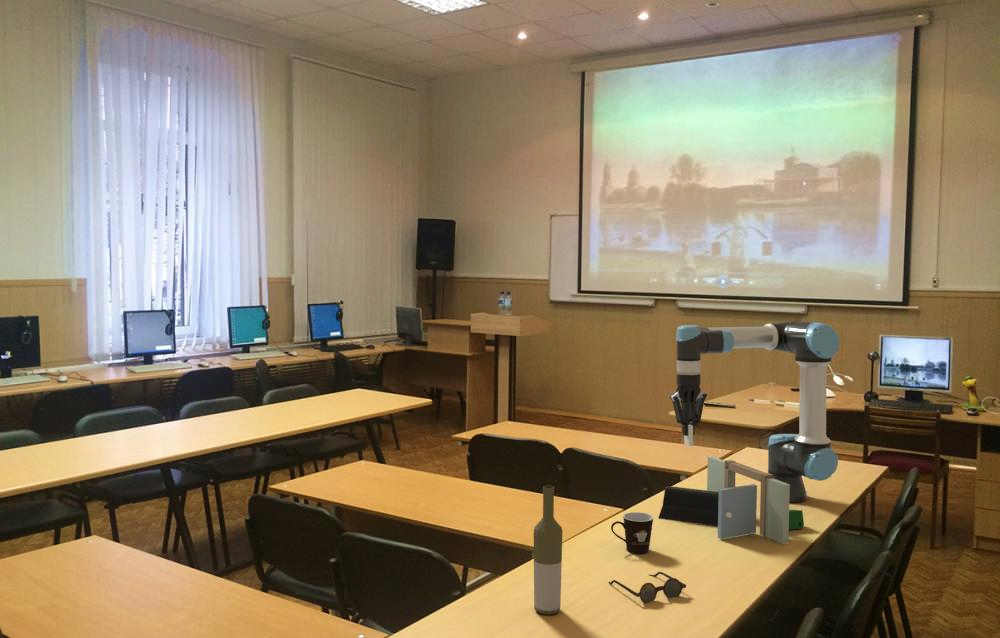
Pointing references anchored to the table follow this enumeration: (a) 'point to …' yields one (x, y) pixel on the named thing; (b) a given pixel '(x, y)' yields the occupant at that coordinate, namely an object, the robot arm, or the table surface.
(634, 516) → the coffee mug
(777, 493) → the door frame
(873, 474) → the table surface
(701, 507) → the barrier
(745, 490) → the door
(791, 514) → the clamp
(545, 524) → the bottle
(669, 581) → the eyeglasses
